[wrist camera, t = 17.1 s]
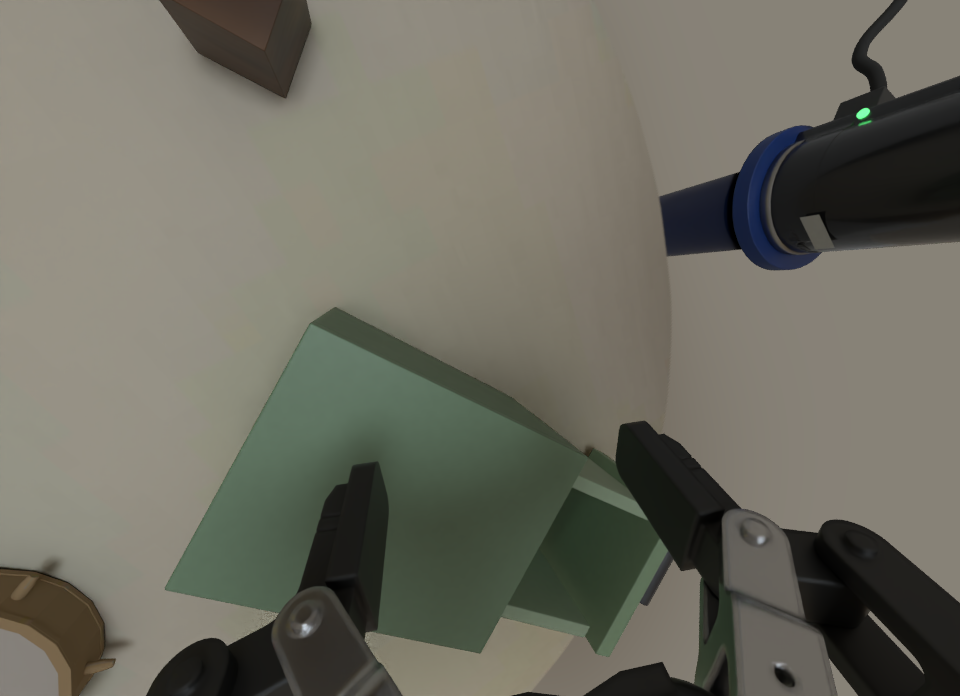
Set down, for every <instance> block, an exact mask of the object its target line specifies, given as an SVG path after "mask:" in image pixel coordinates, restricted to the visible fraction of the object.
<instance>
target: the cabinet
mask: <svg viewBox="0 0 960 696" xmlns="http://www.w3.org/2000/svg"><path fill="white" fill-rule="evenodd" d="M587 460H588V457H587V456H586V455H585V454H583V453H582V452H581V451H579V450H578V449H577V448H576V447H574V446H573V445H572V444H571V443H569V442H568V441H567V440H566V439H564V438H563V437H562V436H560V435H559V434H558V433H557V432H555V431H554V430H553V429H551V428H550V427H549V426H548V425H546V424H545V423H544V422H543V421H541V420H540V419H539V418H537V417H536V416H535V415H534V414H532V413H531V412H530V411H528V410H527V409H526V408H525V407H523V406H522V405H521V404H519V403H518V402H517V401H516V400H514V399H513V398H512V397H510V396H508V395H506V394H504V393H502V392H500V391H498V390H496V389H494V388H493V387H491V386H489V385H487V384H485V383H483V382H481V381H479V380H477V379H475V378H473V377H471V376H469V375H467V374H465V373H463V372H461V371H459V370H457V369H455V368H453V367H451V366H449V365H447V364H446V363H444V362H442V361H440V360H438V359H436V358H434V357H432V356H430V355H428V354H426V353H424V352H422V351H420V350H418V349H416V348H414V347H412V346H410V345H408V344H406V343H404V342H402V341H401V340H399V339H397V338H395V337H393V336H391V335H389V334H387V333H385V332H383V331H381V330H379V329H377V328H375V327H373V326H371V325H369V324H367V323H365V322H363V321H361V320H359V319H357V318H356V317H354V316H352V315H350V314H348V313H346V312H344V311H342V310H340V309H338V308H336V307H335V308H333V309H332V310H330V311H328V312H327V313H325V314H324V315H322V316H321V317H319V318H318V319H316V320H315V321H313V322H312V323H310V324H309V326H308V328H307V329H306V331H305V333H304V335H303V337H302V339H301V340H300V342H299V344H298V346H297V348H296V349H295V351H294V353H293V355H292V357H291V359H290V360H289V362H288V364H287V366H286V368H285V370H284V371H283V373H282V375H281V377H280V379H279V380H278V382H277V384H276V386H275V388H274V390H273V391H272V393H271V395H270V397H269V399H268V401H267V402H266V404H265V406H264V408H263V410H262V411H261V413H260V415H259V417H258V419H257V421H256V422H255V424H254V426H253V428H252V430H251V432H250V433H249V435H248V437H247V439H246V441H245V442H244V444H243V446H242V448H241V450H240V452H239V453H238V455H237V457H236V459H235V461H234V463H233V464H232V466H231V468H230V470H229V472H228V473H227V475H226V477H225V479H224V481H223V483H222V484H221V486H220V488H219V490H218V492H217V494H216V495H215V497H214V499H213V501H212V503H211V504H210V506H209V508H208V510H207V512H206V514H205V515H204V517H203V519H202V521H201V523H200V525H199V526H198V528H197V530H196V532H195V534H194V535H193V537H192V539H191V541H190V543H189V545H188V546H187V548H186V550H185V552H184V554H183V556H182V557H181V559H180V561H179V563H178V565H177V567H176V568H175V570H174V572H173V574H172V576H171V577H170V579H169V581H168V583H167V585H166V587H165V590H167V591H172V592H177V593H182V594H187V595H192V596H197V597H201V598H206V599H211V600H216V601H221V602H226V603H231V604H236V605H241V606H246V607H251V608H256V609H261V610H266V611H271V612H276V613H279V612H280V611H281V609H282V608H283V607H284V605H285V604H286V603H287V602H288V601H289V600H290V599H291V598H292V597H294V596H295V595H296V593H297V592H298V589H299V586H300V583H301V580H302V576H303V573H304V570H305V566H306V563H307V560H308V556H309V553H310V549H311V546H312V543H313V539H314V536H315V533H316V532H317V531H316V529H317V526H318V522H319V520H320V518H321V517H320V516H321V512H322V509H323V506H324V502H325V500H326V498H327V497H328V496H329V494H330V493H331V491H332V490H333V489H334V487H335V486H336V485H340V484H346V483H348V481H349V477H350V472H351V468H352V466H353V465H355V464H362V463H368V462H375V461H378V462H379V465H380V468H381V472H382V476H383V480H384V483H385V487H386V491H387V495H388V502H389V519H388V529H387V539H386V549H385V559H384V570H383V580H382V590H381V600H380V610H379V621H378V630H376V631H371V632H376V633H381V634H386V635H391V636H396V637H401V638H406V639H411V640H416V641H421V642H425V643H430V644H435V645H440V646H445V647H450V648H455V649H460V650H465V651H470V652H475V653H481V652H482V650H483V648H484V646H485V644H486V643H487V641H488V639H489V637H490V635H491V634H492V632H493V630H494V628H495V626H496V624H497V623H498V621H499V619H500V617H501V615H502V614H503V612H504V610H505V608H506V606H507V605H508V603H509V601H510V599H511V597H512V595H513V594H514V592H515V590H516V588H517V586H518V585H519V583H520V581H521V579H522V577H523V576H524V574H525V572H526V570H527V568H528V566H529V565H530V563H531V561H532V559H533V557H534V556H535V554H536V552H537V550H538V548H539V547H540V545H541V543H542V541H543V539H544V537H545V536H546V534H547V532H548V530H549V528H550V527H551V525H552V523H553V521H554V519H555V518H556V516H557V514H558V512H559V510H560V508H561V507H562V505H563V503H564V501H565V499H566V498H567V496H568V494H569V492H570V490H571V489H572V487H573V485H574V483H575V481H576V479H577V478H578V476H579V474H580V472H581V470H582V469H583V467H584V465H585V463H586V461H587Z"/></svg>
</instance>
